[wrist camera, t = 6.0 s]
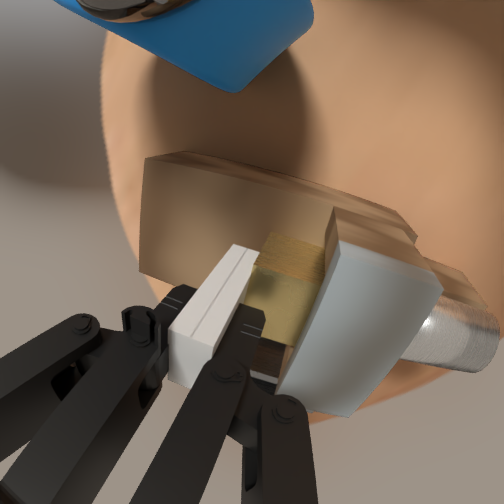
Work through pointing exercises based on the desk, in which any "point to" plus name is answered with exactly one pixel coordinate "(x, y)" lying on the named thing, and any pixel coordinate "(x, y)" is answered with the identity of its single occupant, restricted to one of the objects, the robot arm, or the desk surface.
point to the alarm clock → (205, 32)
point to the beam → (336, 266)
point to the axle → (455, 337)
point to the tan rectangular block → (285, 285)
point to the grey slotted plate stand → (268, 365)
